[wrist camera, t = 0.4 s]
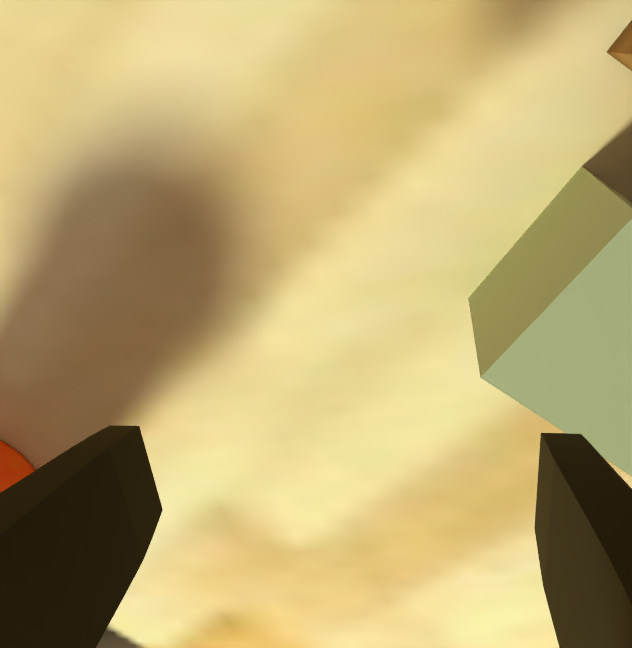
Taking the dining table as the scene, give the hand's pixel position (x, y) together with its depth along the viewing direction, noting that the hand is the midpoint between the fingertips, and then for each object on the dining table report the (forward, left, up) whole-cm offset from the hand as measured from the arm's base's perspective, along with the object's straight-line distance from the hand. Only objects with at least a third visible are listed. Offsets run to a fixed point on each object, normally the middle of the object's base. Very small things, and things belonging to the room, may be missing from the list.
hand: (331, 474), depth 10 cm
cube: (-5, -4, -10) cm, 12 cm away
